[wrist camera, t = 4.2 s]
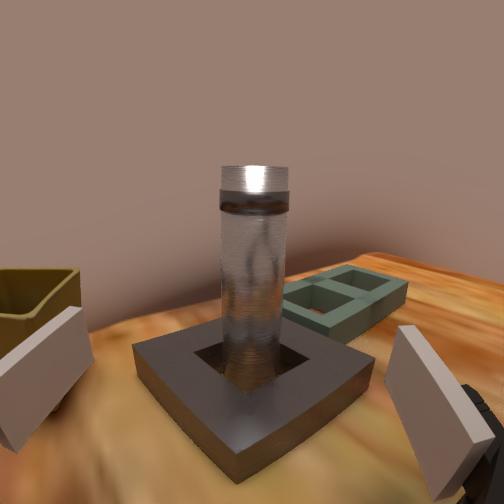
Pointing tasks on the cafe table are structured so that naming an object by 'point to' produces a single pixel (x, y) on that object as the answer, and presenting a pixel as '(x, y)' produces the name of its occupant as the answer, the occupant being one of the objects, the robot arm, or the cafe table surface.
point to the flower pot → (34, 301)
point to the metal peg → (252, 271)
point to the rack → (343, 301)
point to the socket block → (251, 392)
